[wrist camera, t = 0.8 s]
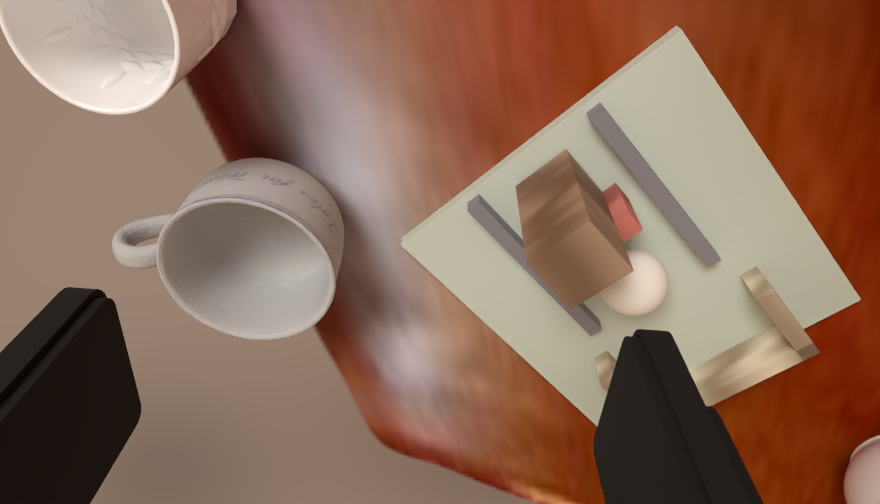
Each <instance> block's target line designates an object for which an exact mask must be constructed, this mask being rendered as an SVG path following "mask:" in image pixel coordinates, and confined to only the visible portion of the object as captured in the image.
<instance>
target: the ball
mask: <svg viewBox="0 0 880 504" xmlns="http://www.w3.org/2000/svg"><path fill="white" fill-rule="evenodd" d="M626 252H627V255H628V257H629V260H630V262H631V265H632V267H633V270H634V271H633V272H631V273H630V274H628V275H626V276H625V277H623V278H622V279H620V280H618V281H617V282H615V283H613V284H612V285H610V286H609V287H607V288H605V289H604V290H602V291H600V293H601V296H602V298H603V299H604V301H605V302H606V303H607V305H608V306H610V307H611V308H612V309H613V310H615V311H616V312H618V313H621V314H623V315H628V316H640V315H645V314H648V313H650V312H652V311H653V310H655V309H656V308H658V307H659V306H660V305H661V303H662V302H663V301H664V299H665V297H666V295H667V292H668V286H669V281H668V275H667V272H666V269H665V267H664V266H663V264H662V263H661V262H660V261H659V260H658V259H657V258H656V257H655V256H654V255H652V254H650V253H648V252H646V251H643V250H637V249H629V250H626Z"/></svg>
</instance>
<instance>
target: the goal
mask: <svg viewBox="0 0 880 504" xmlns="http://www.w3.org/2000/svg"><path fill="white" fill-rule="evenodd" d="M741 277H742V278H743V280H744V281H745V283H746V285H747V286H748V288H749V289H750V291H751V292H752V294H753V295H754V297H755V298H756V300H757V301H758V303H759V304H760V305H761V307H762V308H763V309H764V310H765V312H766V313H767V314H768V316H769V317H770V318H771V320H772V321H773V322H774V323H775V325H774V326H772V327H770V328H768V329H766V330H764V331H762V332H761V333H759V334H757V335H755V336H753V337H751V338H749V339H747V340H745V341H743V342H741V343H739V344H737V345H736V346H734V347H732V348H730V349H728V350H726V351H724V352H722V353H720V354H718V355H716V356H714V357H712V358H711V359H709V360H707V361H705V362H703V363H701V364H699V365H697V366H695V367H693V368H691V369H689V372H690V374H691V376H692V378H693V380H694V382H695V384H696V386H697V389H698V391H699V393H700V395H701V397H702V399H703V401H704V403H705V405H706V406H712V405H714V404H716V403H718V402H720V401H722V400H724V399H726V398H728V397H730V396H732V395H734V394H736V393H738V392H740V391H742V390H745V389H747V388H749V387H751V386H753V385H755V384H757V383H759V382H761V381H763V380H765V379H767V378H769V377H771V376H773V375H775V374H777V373H779V372H782V371H784V370H786V369H788V368H790V367H792V366H794V365H796V364H798V363H800V362H802V361H804V360H806V359H808V358H810V357H812V356H814V355H816V354H819V353H820V352H819V350H818V349H817V348H816V346H815V345H814V343H813V342H812V340H811V339H810V338H809V336H808V335H807V333H806V332H805V331H804V329H803V328H802V326H801V325H800V324H799V322H798V321H797V320H796V318H795V317H794V316H793V314H792V313H791V312H790V310H789V309H788V308H787V306H786V305H785V304H784V302H783V301H782V300H781V298H780V297H779V296H778V294H777V293H776V292H775V290H774V289H773V288H772V286H771V285H770V284H769V282H768V281H767V279H766V278H765V277H764V275H763V274H762V273H761V271H760V270H759V269H758V267H757V266H755V267H754V268H752V269H750V270H748V271H747V272H745V273H743V274H741ZM594 360H595V364H596V368H597V372H598V376H599V380H600V384H601V386H602V387H603V388H604V389H605V390H606V391H607V392H608V389H609V385H610V382H611V378H612V375H613V372H614V368H615V365H616V361H617V360H616V359H615V358H614V357H613V356H612V355H611V354H610V353H609V352H608V351H605V352H604V353H602V354H600V355H598V356H597V357H595V358H594Z"/></svg>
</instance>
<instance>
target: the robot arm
mask: <svg viewBox="0 0 880 504" xmlns="http://www.w3.org/2000/svg"><path fill="white" fill-rule="evenodd" d="M140 414H141V403H140V399H139V395H138V391H137V387H136V383H135V379H134V375H133V372H132V368H131V364H130V360H129V356H128V352H127V348H126V345H125V340H124V336H123V333H122V328H121V325H120V321H119V317H118V313H117V309H116V305H115V303H114V301H113V300H112V299H110V298H107V297H106V295H105V293H104V292H103V291H102V290H99V289H84V288H72V287H68V288H64V289H63V290H62V291H60V292H59V293H58V294H57V295H56V296H55V297H54V298H53V299H52V300H51V301H50V303H48V305H47V306H45V308H44V309H43V310H42V311H41V312H40V313H39V314H38V315H37V316H36V317H35V318H34V319H33V320H32V321H31V322H30V323H29V324H28V325H27V326H26V327H25V328H24V329H23V330H22V331H21V332H20V333H19V334H18V335H17V336H16V337H15V338H14V339H13V340H12V342H10V343H9V344H8V345H7V346H6V347H5V349H4V350H2V351H1V353H0V504H90V503H91V501H92V499H93V498H94V496H95V494H96V493H97V491H98V489H99V488H100V486H101V484H102V482H103V481H104V479H105V478H106V476H107V474H108V472H109V471H110V469H111V467H112V466H113V464H114V462H115V461H116V459H117V457H118V455H119V454H120V452H121V451H122V449H123V447H124V446H125V444H126V442H127V440H128V439H129V437H130V436H131V434H132V432H133V430H134V429H135V427H136V425H137V423H138V421H139V418H140ZM594 456H595V461H596V465H597V469H598V473H599V477H600V482H601V486H602V490H603V494H604V498H605V503H606V504H763V502H762V500H761V498H760V496H759V494H758V492H757V490H756V488H755V486H754V484H753V481H752V479H751V477H750V475H749V473H748V471H747V469H746V467H745V465H744V463H743V461H742V459H741V457H740V455H739V453H738V451H737V449H736V447H735V445H734V443H733V441H732V439H731V437H730V435H729V433H728V431H727V429H726V427H725V425H724V423H723V421H722V419H721V417H720V415H719V414H718V412H717V411H716V410H715V409H714V408H713V407H711V406H706V405H705V403H704V401H703V399H702V397H701V395H700V393H699V391H698V389H697V386H696V384H695V382H694V380H693V378H692V376H691V374H690V372H689V370H688V367H687V365H686V363H685V361H684V359H683V357H682V355H681V353H680V351H679V348H678V346H677V344H676V342H675V340H674V338H673V336H672V334H671V333H670V332H668V331H660V330H646V329H637V330H636V331H635V332H634V334H633V336H625V337H624V339H623V341H622V344H621V348H620V351H619V355H618V358H617V361H616V365H615V368H614V372H613V375H612V378H611V382H610V385H609V389H608V392H607V395H606V399H605V402H604V406H603V409H602V412H601V416H600V419H599V423H598V426H597V429H596V433H595V437H594Z"/></svg>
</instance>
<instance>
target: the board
mask: <svg viewBox="0 0 880 504" xmlns="http://www.w3.org/2000/svg"><path fill="white" fill-rule="evenodd" d="M565 149H567V150H568V151H569V153H570V154H571V155H572V156H573V157H574V159H575V160H576V161H577V162H578V163H579V165H580V166H581V167H582V168H583V169H584V171H585V172H586V173H587V174H588V175H589V176H590V178H591V179H592V180H593V181H594V182H595V184H596V185H597V186H598V187H599V188H600V190H601V191H602V192H603V191H604V190H606V189H607V188H609V187H610V186H611V185H613V184H614V183H616V184H617V185H618V186H619V188H620V189H621V190H622V191H623V192H624V194H625V195H626V196H627V197H628V199H629V201H630V203H631V205H632V207H633V209H634V212H635V214H636V216H637V218H638V220H639V222H640V224H641V226H642V229H643V230H642V231H641V232H639V233H637V234H636V235H634V236H633V237H631V238H630V239H628V240H626V241H625V242H623V245H624V247H625V250H629V249H637V250H643V251H646V252H648V253H650V254H652V255H654V256H655V257H656V258H657V259H658V260H659V261H660V262H661V263H662V264H663V266H664V267H665V269H666V272H667V275H668V281H669V286H668V292H667V295H666V297H665V299H664V301H663V302H662V303H661V305H660V306H659V307H658V308H656V309H655V310H653V311H652V312H650V313H648V314H645V315H640V316H628V315H623V314H621V313H618V312H616V311H615V310H613V309H612V308H611V307H610V306H608V305H607V303H606V302H605V301H604V299H603V298H602V296H601V293H600V292H599V293H597V294H596V295H594V296H592V297H591V298H589V299H587V300H586V301H584V302H583V303H581V304H579V305H578V306H576V307H574V308H573V309H570V308H569V307H568V306H567V305H566V304H565V303H564V302H563V301H562V300H561V299H560V298H559V297H558V296H557V295H556V294H555V293H554V292H553V291H552V290H551V289H550V288H549V287H548V286H547V285H546V283H545V282H544V281H543V280H542V279H541V278H540V277H539V276H538V275H537V274H536V273H535V272H534V271H533V270H532V269H531V268H530V267H529V266H528V265H527V264H526V258H525V250H524V243H523V236H522V229H521V222H520V215H519V208H518V201H517V194H516V187H515V186H516V185H518V184H519V183H520V182H522V181H523V180H524V179H526V178H527V177H528V176H530V175H531V174H533V173H534V172H535V171H537V170H538V169H539V168H541V167H542V166H543V165H545V164H546V163H547V162H549V161H550V160H551V159H553V158H554V157H555V156H557V155H558V154H559V153H561V152H562V151H563V150H565ZM401 246H402V247H403V248H405V249H406V250H407V251H408V252H409V253H410V254H411V255H412V256H413V257H414V258H415V259H416V260H418V261H419V262H420V263H421V264H422V265H423V266H424V267H425V268H426V269H427V270H428V271H429V272H431V273H432V274H433V275H434V276H435V277H436V278H437V279H438V280H439V281H440V282H441V283H442V284H444V285H445V286H446V287H447V288H448V289H449V290H450V291H451V292H452V293H453V294H454V295H455V296H457V297H458V298H459V299H460V300H461V301H462V302H463V303H464V304H465V305H466V306H467V307H468V308H470V309H471V310H472V311H473V312H474V313H475V314H476V315H477V316H478V317H479V318H480V319H481V320H482V321H484V322H485V323H486V324H487V325H488V326H489V327H490V328H491V329H492V330H493V331H494V332H495V333H497V334H498V335H499V336H500V337H501V338H502V339H503V340H504V341H505V342H506V343H507V344H508V345H510V346H511V347H512V348H513V349H514V350H515V351H516V352H517V353H518V354H519V355H520V356H521V357H523V358H524V359H525V360H526V361H527V362H528V363H529V364H530V365H531V366H532V367H533V368H534V369H536V370H537V371H538V372H539V373H540V374H541V375H542V376H543V377H544V378H545V379H546V380H547V381H549V382H550V383H551V384H552V385H553V386H554V387H555V388H556V389H557V390H558V391H559V392H560V393H562V394H563V395H564V396H565V397H566V398H567V399H568V400H569V401H570V402H571V403H572V404H573V405H575V406H576V407H577V408H578V409H579V410H580V411H581V412H582V413H583V414H584V415H585V416H586V417H588V418H589V419H590V420H591V421H592V422H593V423H594V424H595V425H596V426H598V423H599V419H600V416H601V412H602V409H603V406H604V402H605V399H606V395H607V391H606V390H605V389H604V388H603V387H602V386H601V384H600V380H599V376H598V372H597V368H596V364H595V360H594V358H595V357H597V356H598V355H600V354H602V353H604V352H605V351H608V352H609V353H610V354H611V355H612V356H613V357H614V358H615V359H616V360H617V358H618V355H619V351H620V348H621V344H622V341H623V339H624V337H625V336H633V334H634V332H635V331H636V330H637V329H646V330H660V331H668V332H670V333H671V334H672V336H673V338H674V340H675V342H676V344H677V346H678V348H679V351H680V353H681V355H682V357H683V359H684V361H685V363H686V365H687V367H688V370H689V369H691V368H693V367H695V366H697V365H699V364H701V363H703V362H705V361H707V360H709V359H711V358H712V357H714V356H716V355H718V354H720V353H722V352H724V351H726V350H728V349H730V348H732V347H734V346H736V345H737V344H739V343H741V342H743V341H745V340H747V339H749V338H751V337H753V336H755V335H757V334H759V333H761V332H762V331H764V330H766V329H768V328H770V327H772V326H774V325H775V323H774V322H773V321H772V320H771V318H770V317H769V316H768V314H767V313H766V312H765V310H764V309H763V308H762V307H761V305H760V304H759V303H758V301H757V300H756V298H755V297H754V295H753V294H752V292H751V291H750V289H749V288H748V286H747V285H746V283H745V281H744V280H743V278H742V277H741V274H743V273H745V272H747V271H748V270H750V269H752V268H754V267H755V266H757V267H758V269H759V270H760V271H761V273H762V274H763V275H764V277H765V278H766V279H767V281H768V282H769V284H770V285H771V286H772V288H773V289H774V290H775V292H776V293H777V294H778V296H779V297H780V298H781V300H782V301H783V302H784V304H785V305H786V306H787V308H788V309H789V310H790V312H791V313H792V314H793V316H794V317H795V318H796V320H797V321H798V322H799V324H800V325H801V326H802V328H803V329H805V328H807V327H809V326H810V325H812V324H814V323H816V322H818V321H820V320H822V319H824V318H826V317H828V316H830V315H832V314H834V313H836V312H838V311H840V310H842V309H844V308H846V307H848V306H850V305H852V304H854V303H856V302H858V301H860V300H861V299H860V297H859V296H858V294H857V293H856V291H855V290H854V288H853V287H852V285H851V284H850V282H849V281H848V279H847V278H846V276H845V275H844V273H843V272H842V270H841V269H840V267H839V266H838V264H837V263H836V261H835V260H834V258H833V257H832V255H831V254H830V252H829V251H828V249H827V248H826V246H825V245H824V243H823V241H822V240H821V238H820V237H819V235H818V234H817V232H816V231H815V229H814V228H813V226H812V225H811V223H810V222H809V220H808V219H807V217H806V216H805V214H804V213H803V211H802V210H801V208H800V207H799V205H798V204H797V202H796V201H795V199H794V198H793V196H792V195H791V193H790V192H789V190H788V189H787V187H786V186H785V184H784V183H783V181H782V180H781V178H780V177H779V175H778V174H777V172H776V171H775V169H774V168H773V166H772V165H771V163H770V162H769V160H768V159H767V157H766V156H765V154H764V153H763V151H762V150H761V148H760V147H759V145H758V144H757V142H756V141H755V139H754V138H753V136H752V135H751V133H750V132H749V130H748V129H747V127H746V126H745V124H744V123H743V121H742V120H741V118H740V117H739V115H738V114H737V112H736V111H735V109H734V108H733V106H732V105H731V103H730V102H729V100H728V99H727V97H726V96H725V94H724V93H723V91H722V90H721V88H720V87H719V85H718V84H717V82H716V81H715V79H714V78H713V76H712V75H711V73H710V72H709V70H708V69H707V67H706V66H705V64H704V63H703V61H702V60H701V58H700V57H699V55H698V54H697V52H696V51H695V49H694V48H693V46H692V44H691V43H690V41H689V40H688V38H687V37H686V35H685V34H684V32H683V31H682V29H680V28H679V27H678V26H677V25H676V26H675V27H674V28H672V29H671V30H670V31H669V32H667V33H666V34H665V35H663V36H662V37H661V38H660V39H658V40H657V41H656V42H654V43H653V44H652V45H650V46H649V47H648V48H647V49H645V50H644V51H643V52H641V53H640V54H639V55H638V56H636V57H635V58H634V59H632V60H631V61H630V62H628V63H627V64H626V65H625V66H623V67H622V68H621V69H619V70H618V71H617V72H616V73H614V74H613V75H612V76H610V77H609V78H608V79H606V80H605V81H604V82H603V83H601V84H600V85H599V86H597V87H596V88H595V89H594V90H592V91H591V92H590V93H588V94H587V95H586V96H584V97H583V98H582V99H581V100H579V101H578V102H577V103H575V104H574V105H573V106H572V107H570V108H569V109H568V110H566V111H565V112H564V113H562V114H561V115H560V116H559V117H557V118H556V119H555V120H553V121H552V122H551V123H550V124H548V125H547V126H546V127H544V128H543V129H542V130H540V131H539V132H538V133H537V134H535V135H534V136H533V137H531V138H530V139H529V140H528V141H526V142H525V143H524V144H522V145H521V146H520V147H519V148H517V149H516V150H515V151H513V152H512V153H511V154H509V155H508V156H507V157H506V158H504V159H503V160H502V161H500V162H499V163H498V164H497V165H495V166H494V167H493V168H491V169H490V170H489V171H487V172H486V173H485V174H484V175H482V176H481V177H480V178H478V179H477V180H476V181H475V182H473V183H472V184H471V185H469V186H468V187H467V188H465V189H464V190H463V191H462V192H460V193H459V194H458V195H456V196H455V197H454V198H453V199H451V200H450V201H449V202H447V203H446V204H445V205H443V206H442V207H441V208H440V209H438V210H437V211H436V212H434V213H433V214H432V215H431V216H429V217H428V218H427V219H425V220H424V221H423V222H421V223H420V224H419V225H418V226H416V227H415V228H414V229H412V230H411V231H410V232H409V233H407V234H406V235H405V236H403V237H402V241H401Z"/></svg>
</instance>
